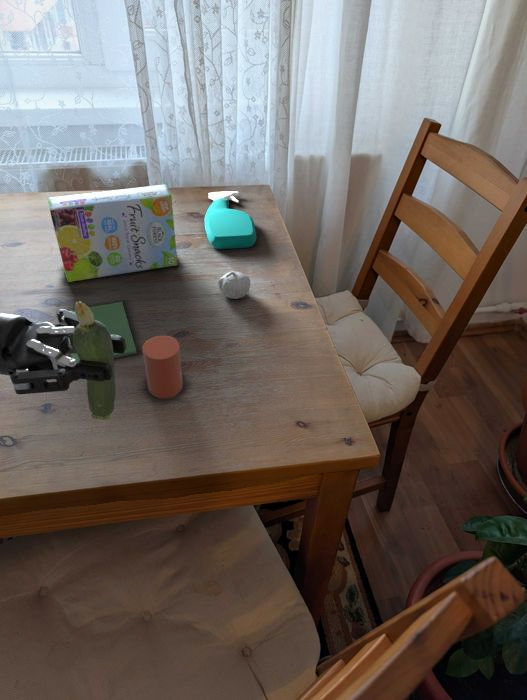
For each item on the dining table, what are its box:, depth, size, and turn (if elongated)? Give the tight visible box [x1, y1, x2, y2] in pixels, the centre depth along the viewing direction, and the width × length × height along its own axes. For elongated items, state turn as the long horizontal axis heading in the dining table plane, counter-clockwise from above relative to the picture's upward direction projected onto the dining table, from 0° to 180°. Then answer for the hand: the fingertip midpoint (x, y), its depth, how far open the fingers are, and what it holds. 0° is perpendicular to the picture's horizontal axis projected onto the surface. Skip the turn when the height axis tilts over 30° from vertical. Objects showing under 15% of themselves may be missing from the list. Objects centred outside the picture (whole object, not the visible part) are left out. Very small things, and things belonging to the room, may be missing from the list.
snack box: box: [47, 184, 178, 283], centre depth 98 cm, size 21×6×15 cm, turn 110°
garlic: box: [217, 270, 252, 300], centre depth 96 cm, size 6×5×5 cm
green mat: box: [67, 301, 138, 363], centre depth 88 cm, size 14×10×1 cm
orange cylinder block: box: [141, 334, 184, 399], centre depth 77 cm, size 5×5×8 cm
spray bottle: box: [204, 190, 257, 250], centre depth 118 cm, size 3×11×24 cm
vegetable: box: [73, 300, 117, 420], centre depth 64 cm, size 4×4×20 cm
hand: (117, 358), depth 64 cm, fingers closed on vegetable, 4 cm apart
